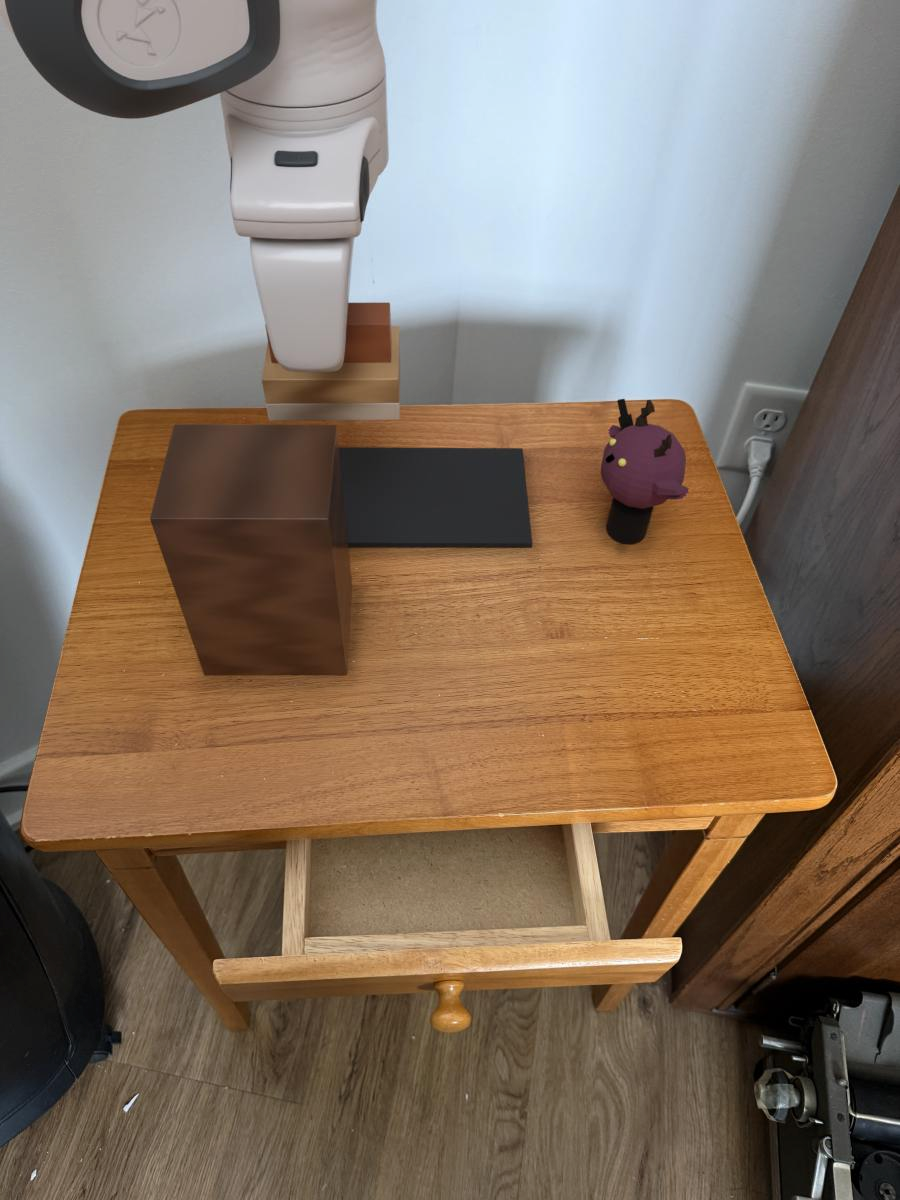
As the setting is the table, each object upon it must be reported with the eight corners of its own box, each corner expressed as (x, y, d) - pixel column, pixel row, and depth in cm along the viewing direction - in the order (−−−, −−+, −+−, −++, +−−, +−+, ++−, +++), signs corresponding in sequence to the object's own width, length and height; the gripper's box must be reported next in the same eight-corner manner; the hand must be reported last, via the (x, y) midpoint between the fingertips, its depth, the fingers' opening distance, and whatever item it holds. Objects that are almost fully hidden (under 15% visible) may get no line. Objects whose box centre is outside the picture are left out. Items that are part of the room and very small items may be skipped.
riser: (203, 675, 62) (149, 518, 50) (219, 587, 67) (173, 423, 55) (346, 675, 63) (328, 519, 50) (352, 587, 68) (336, 424, 55)
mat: (278, 547, 70) (277, 542, 69) (290, 451, 77) (290, 446, 76) (531, 547, 71) (532, 542, 70) (521, 453, 77) (522, 447, 77)
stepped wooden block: (268, 421, 61) (254, 340, 56) (276, 367, 65) (263, 287, 60) (400, 420, 61) (397, 340, 56) (400, 367, 65) (397, 287, 60)
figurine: (600, 482, 75) (626, 365, 66) (691, 515, 73) (730, 399, 64) (563, 543, 71) (584, 428, 62) (658, 581, 69) (695, 467, 59)
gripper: (270, 50, 55) (296, 256, 66) (224, 224, 43) (266, 443, 53) (371, 52, 55) (381, 256, 66) (357, 225, 43) (371, 443, 54)
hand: (329, 341), depth 60 cm, fingers closed on stepped wooden block, 2 cm apart
